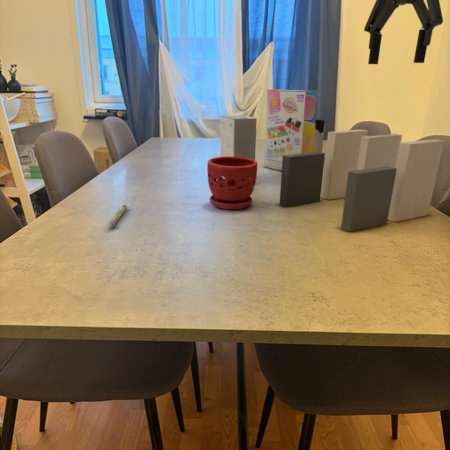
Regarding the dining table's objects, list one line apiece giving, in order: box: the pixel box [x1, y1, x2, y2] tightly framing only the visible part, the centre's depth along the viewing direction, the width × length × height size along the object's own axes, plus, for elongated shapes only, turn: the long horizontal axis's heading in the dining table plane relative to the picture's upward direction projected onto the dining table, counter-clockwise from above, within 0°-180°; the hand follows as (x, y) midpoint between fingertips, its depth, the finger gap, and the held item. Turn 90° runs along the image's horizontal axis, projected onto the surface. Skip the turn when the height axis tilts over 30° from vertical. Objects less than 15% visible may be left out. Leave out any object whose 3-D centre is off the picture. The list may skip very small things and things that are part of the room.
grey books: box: [279, 152, 397, 233], centre depth 108 cm, size 27×12×13 cm, turn 30°
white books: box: [320, 129, 445, 223], centre depth 114 cm, size 27×12×18 cm, turn 30°
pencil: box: [108, 204, 128, 230], centre depth 106 cm, size 1×1×18 cm
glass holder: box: [313, 119, 326, 153], centre depth 185 cm, size 9×14×15 cm, turn 145°
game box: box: [264, 89, 319, 172], centre depth 155 cm, size 21×6×27 cm, turn 34°
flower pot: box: [206, 156, 258, 210], centre depth 115 cm, size 13×13×12 cm
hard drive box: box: [220, 114, 258, 179], centre depth 142 cm, size 16×8×20 cm, turn 17°
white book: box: [357, 133, 403, 170], centre depth 114 cm, size 2×12×18 cm, turn 120°
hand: (394, 63), depth 104 cm, fingers open, 13 cm apart
